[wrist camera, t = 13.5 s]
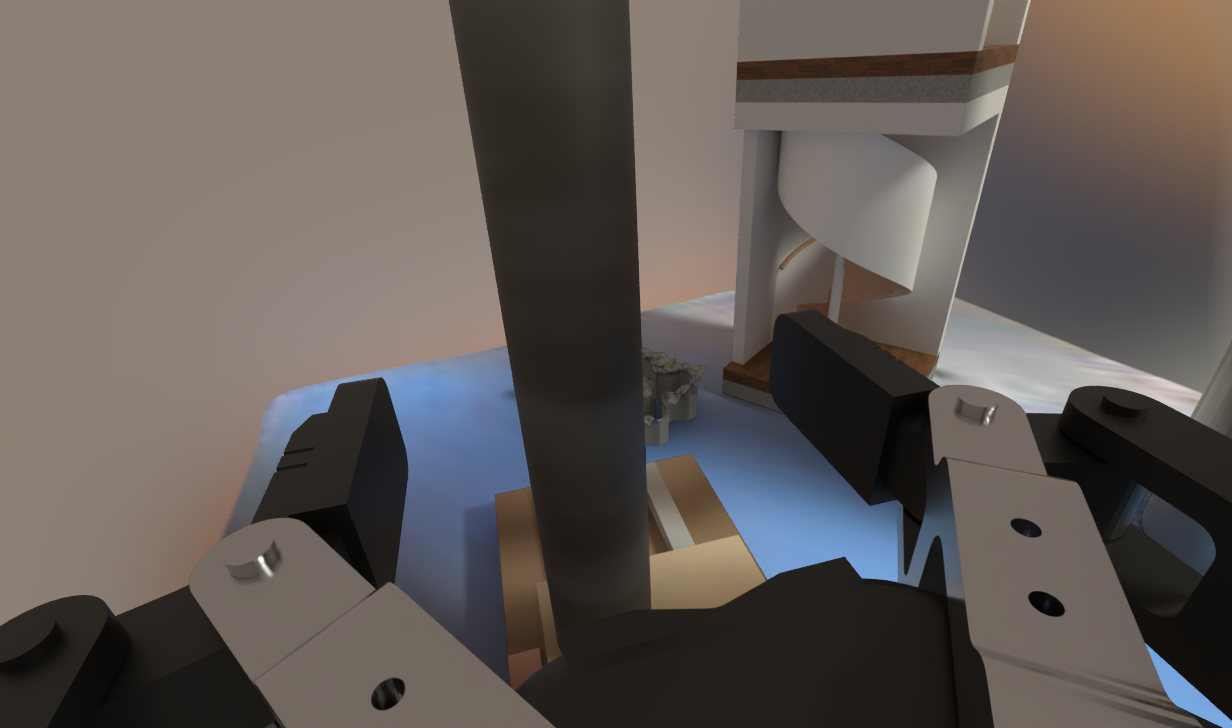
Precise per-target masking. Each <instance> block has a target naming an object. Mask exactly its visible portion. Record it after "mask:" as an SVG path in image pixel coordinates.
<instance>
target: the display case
mask: <svg viewBox="0 0 1232 728" xmlns="http://www.w3.org/2000/svg"><path fill="white" fill-rule="evenodd" d="M1030 1H1031V0H740V14H739V36H738V61H737V81H736V83H737V84H736V105H735V127H734V129H744V142H743V160H742V180H741V198H740V219H739V236H738V237H739V238H738V255H737V275H736V294H735V313H734V332H733V351H732V362H731V363H729V364H728V365H727V366H726V367H724V372H723V393H725V394H728V395H731V396H734V397H737V398H740V399H743V400H746V401H748V402H751V403H754V404H757V405H760V406H763V407H766V408H769V409H772V410H775V411H777V412H780V413H783V412H782V411H781V410H780V409H779V408H778V407H777V405H776V404H775V402H774V400H773V398H772V395H771V392H770V386H769V373H770V362H771V351H772V340H773V329H774V323H775V320H776V318H777V317H778V316H779V315H780V314H785V313H792V312H798V311H804V310H810V309H815V310H817V311H819V312H820V313H822V314H823V315H825V316H826V317H828V318H829V319H831V320H832V321H834V322H835V323H836V324H838V325H839V326H841V327H842V328H844V329H847V330H850V331H853V332H855V333H858V334H861V335H864V336H865V337H867V338H868V339H870V340H871V341H873V342H874V343H876V344H877V345H879V346H880V347H881V349H882V350H884V349H885V350H886V351H888V352H889V353H891V354H892V355H894V356H895V358H896V360H897V359H900V360H901V361H903V362H904V363H906V364H907V365H909V366H910V367H912V368H913V369H915V370H916V371H918V372H919V373H921V374H922V375H924V376H925V377H927V378H928V379H930V380H932V378H933V377H934V373H935V369H936V365H937V362H938V358H939V354H940V350H941V346H942V342H943V338H944V334H945V331H946V327H947V323H948V319H949V315H950V311H951V307H952V303H953V299H954V295H955V291H956V288H957V284H958V280H959V276H960V272H961V268H962V264H963V261H964V257H965V252H966V249H967V245H968V241H969V237H970V233H971V229H972V226H973V222H974V218H975V214H976V210H977V206H978V202H979V198H980V194H981V191H982V187H983V183H984V179H985V175H986V171H987V168H988V164H989V160H990V156H991V152H992V148H993V144H994V140H995V136H996V133H997V129H998V125H999V121H1000V117H1001V113H1002V109H1003V105H1004V102H1005V98H1006V94H1007V90H1008V86H1009V82H1010V78H1011V74H1012V70H1013V67H1014V63H1015V59H1016V55H1017V51H1018V47H1019V43H1020V39H1021V36H1022V32H1023V28H1024V24H1025V20H1026V16H1027V12H1028V8H1029V5H1030ZM783 414H784V413H783Z"/></svg>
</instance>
